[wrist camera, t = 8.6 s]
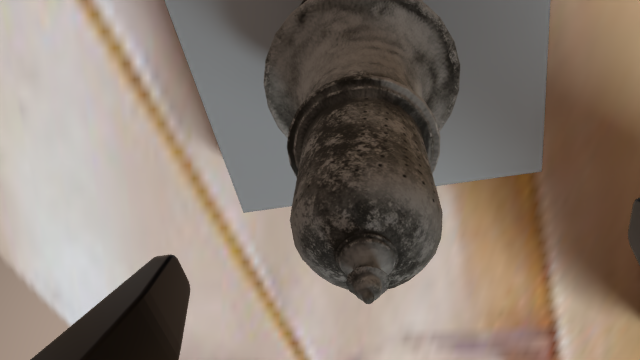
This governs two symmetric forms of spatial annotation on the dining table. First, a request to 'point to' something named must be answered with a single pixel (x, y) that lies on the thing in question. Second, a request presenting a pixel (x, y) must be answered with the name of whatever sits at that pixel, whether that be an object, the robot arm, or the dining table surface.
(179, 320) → the robot arm
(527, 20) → the riser
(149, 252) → the dining table surface
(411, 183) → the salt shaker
